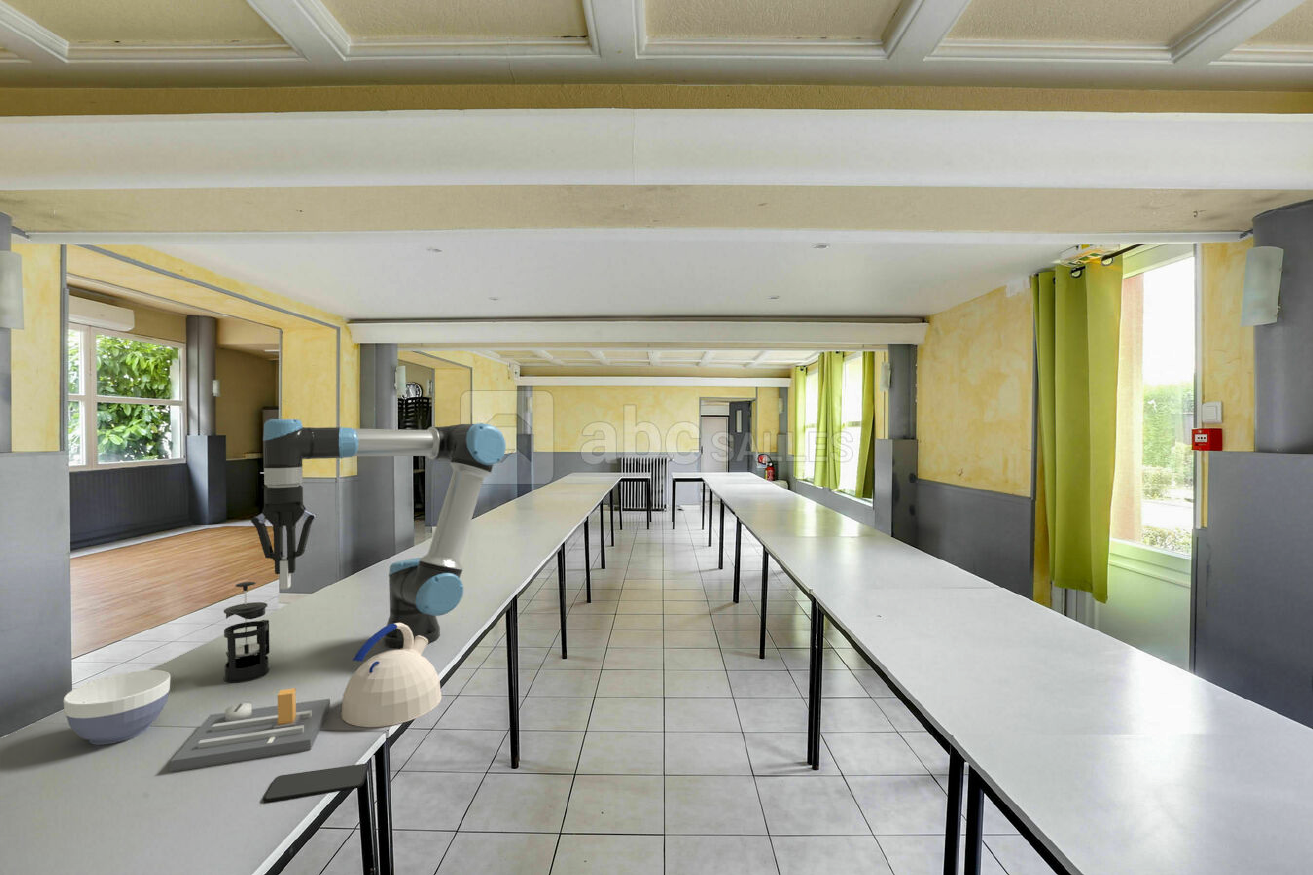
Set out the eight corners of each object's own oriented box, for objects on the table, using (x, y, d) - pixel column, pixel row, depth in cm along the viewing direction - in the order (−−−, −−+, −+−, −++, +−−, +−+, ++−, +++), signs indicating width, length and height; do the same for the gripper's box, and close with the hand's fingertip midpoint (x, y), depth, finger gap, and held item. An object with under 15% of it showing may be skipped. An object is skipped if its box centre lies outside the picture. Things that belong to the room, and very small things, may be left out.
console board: (330, 707, 130) (329, 688, 130) (310, 749, 113) (310, 727, 112) (210, 724, 123) (210, 704, 123) (170, 771, 106) (170, 748, 105)
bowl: (79, 763, 108) (78, 711, 108) (53, 739, 117) (52, 691, 117) (184, 726, 122) (183, 680, 122) (154, 707, 130) (153, 664, 130)
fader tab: (300, 719, 120) (299, 685, 120) (294, 729, 116) (294, 694, 116) (280, 722, 119) (279, 688, 119) (273, 733, 115) (272, 697, 115)
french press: (246, 684, 141) (245, 589, 141) (211, 683, 143) (209, 588, 142) (283, 665, 153) (281, 576, 153) (250, 663, 154) (248, 575, 154)
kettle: (461, 691, 137) (460, 614, 137) (395, 735, 118) (393, 645, 117) (391, 680, 144) (390, 606, 144) (317, 720, 124) (316, 634, 124)
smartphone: (362, 785, 101) (260, 800, 96) (362, 790, 101) (260, 806, 96) (369, 762, 108) (275, 775, 103) (369, 767, 108) (275, 780, 103)
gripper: (319, 483, 142) (320, 581, 143) (256, 485, 138) (258, 585, 139) (312, 486, 135) (313, 589, 136) (245, 488, 131) (247, 594, 131)
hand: (285, 587), depth 137 cm, fingers closed
